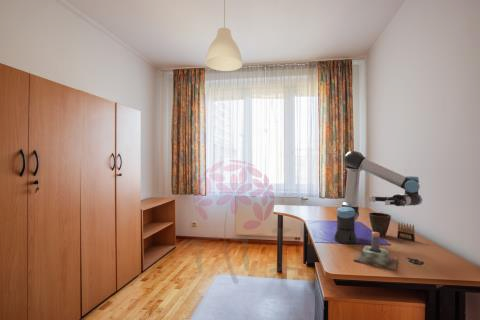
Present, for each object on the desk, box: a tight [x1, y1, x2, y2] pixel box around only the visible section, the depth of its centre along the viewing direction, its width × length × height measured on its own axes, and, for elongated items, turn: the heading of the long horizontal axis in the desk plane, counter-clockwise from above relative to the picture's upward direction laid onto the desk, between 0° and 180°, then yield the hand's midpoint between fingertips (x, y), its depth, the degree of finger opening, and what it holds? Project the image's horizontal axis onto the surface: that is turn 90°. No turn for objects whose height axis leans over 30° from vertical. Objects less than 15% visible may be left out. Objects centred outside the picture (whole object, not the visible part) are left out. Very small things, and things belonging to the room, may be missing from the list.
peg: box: [370, 231, 381, 253], centre depth 138 cm, size 4×4×15 cm
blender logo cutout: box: [406, 257, 424, 266], centre depth 139 cm, size 9×8×1 cm
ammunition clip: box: [397, 221, 416, 242], centre depth 179 cm, size 11×2×12 cm, turn 41°
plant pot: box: [368, 212, 392, 237], centre depth 189 cm, size 15×15×16 cm
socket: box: [352, 245, 398, 271], centre depth 138 cm, size 20×16×6 cm
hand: (375, 201), depth 153 cm, fingers open, 13 cm apart
